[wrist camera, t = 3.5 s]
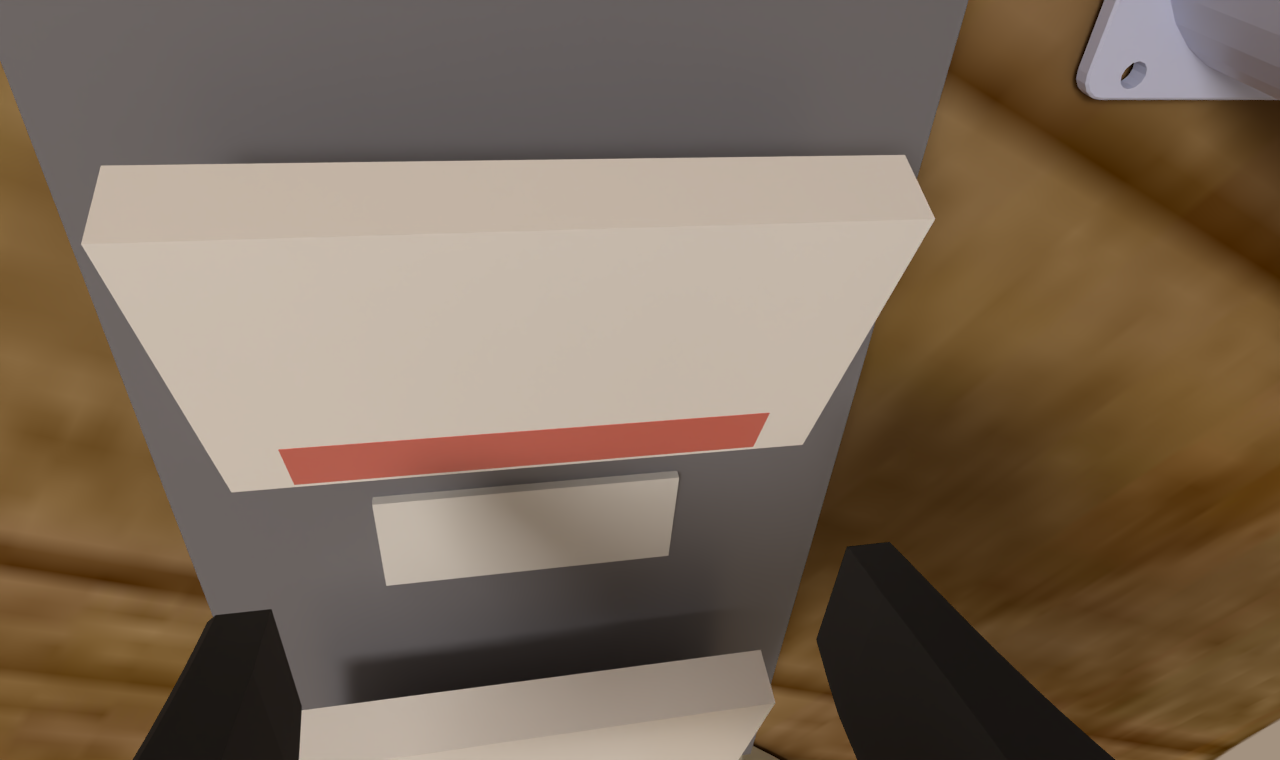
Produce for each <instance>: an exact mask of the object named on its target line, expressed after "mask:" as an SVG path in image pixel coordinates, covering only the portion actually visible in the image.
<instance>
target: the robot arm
mask: <svg viewBox="0 0 1280 760" xmlns="http://www.w3.org/2000/svg"><path fill="white" fill-rule="evenodd" d="M1132 63H1134V65H1133V69H1132V71H1131V72H1130V74H1129V75H1128V76H1127V77H1126V78H1124V79H1123V80H1122V81H1121V77H1122V74H1123V73H1124V71H1125V70H1126V68H1127V67H1129V66H1130V65H1131V64H1132ZM1076 81H1077V86H1078V88H1079V89H1080V90H1081V91H1082V92H1083V93H1084V94H1086V95H1088V96H1089V97H1091V98H1094V99H1098V100H1280V0H1104V3H1103V5H1102V8H1101V10H1100V13H1099V16H1098V18H1097V21H1096V24H1095V26H1094V29H1093V31H1092V34H1091V37H1090V39H1089V42H1088V45H1087V47H1086V50H1085V52H1084V55H1083V58H1082V60H1081V63H1080V65H1079V68H1078V72H1077V77H1076ZM816 640H817V644H818V647H819V651H820V654H821V658H822V661H823V665H824V668H825V672H826V676H827V679H828V682H829V686H830V689H831V692H832V695H833V699H834V702H835V705H836V708H837V712H838V715H839V717H840V719H841V722H842V724H843V727H844V729H845V732H846V734H847V736H848V739H849V741H850V743H851V746H852V748H853V751H854V753H855V755H856V758H857V760H1115V759H1114V758H1113V757H1111V756H1110V755H1109V754H1108V753H1107V752H1106V751H1104V750H1103V749H1102V748H1101V747H1100V746H1099V745H1098V744H1096V743H1095V742H1094V741H1093V740H1092V739H1091V738H1090V737H1089V736H1087V735H1086V734H1085V733H1084V732H1083V731H1082V730H1081V729H1080V728H1078V727H1077V726H1076V725H1075V724H1074V723H1073V722H1072V721H1070V720H1069V719H1068V718H1067V717H1066V716H1065V715H1064V714H1063V713H1062V712H1060V711H1059V710H1058V709H1057V708H1056V707H1055V706H1054V705H1053V704H1052V703H1051V702H1050V701H1049V700H1047V699H1046V698H1045V697H1044V696H1043V695H1042V694H1041V693H1040V692H1039V691H1038V690H1037V689H1036V688H1035V687H1034V686H1033V685H1032V684H1030V683H1029V682H1028V681H1027V680H1026V679H1025V678H1024V677H1023V676H1022V675H1021V674H1020V673H1019V672H1018V671H1017V670H1016V669H1015V668H1014V667H1013V666H1012V665H1011V664H1010V663H1009V662H1008V661H1007V660H1006V659H1005V658H1003V657H1002V656H1001V655H1000V654H999V653H998V652H997V651H996V650H995V649H994V648H993V647H992V646H991V645H990V644H989V643H988V642H987V641H986V640H985V639H984V638H983V637H982V636H981V635H980V634H979V633H978V632H977V631H976V630H975V629H974V628H973V627H972V626H971V625H970V624H969V623H968V622H967V621H966V620H965V619H964V618H963V617H962V616H961V615H960V614H959V613H958V612H957V611H956V610H955V609H954V608H953V607H952V606H951V605H950V604H949V603H948V601H947V600H946V599H945V598H944V597H943V596H942V595H941V594H940V593H939V592H938V591H937V590H936V589H935V588H934V587H933V586H932V585H931V584H930V583H929V582H928V581H927V580H926V579H925V578H924V577H923V576H922V575H921V574H920V573H919V572H918V571H917V570H916V569H915V568H914V567H913V566H912V565H911V563H910V562H909V561H908V560H907V559H906V558H905V557H904V556H903V555H902V554H901V553H900V552H899V551H898V550H897V549H896V548H895V547H894V546H893V545H892V544H891V543H890V542H886V543H876V544H867V545H858V546H849V547H847V548H846V551H845V554H844V557H843V560H842V563H841V566H840V569H839V572H838V575H837V578H836V582H835V585H834V588H833V591H832V594H831V597H830V600H829V603H828V606H827V609H826V612H825V615H824V618H823V621H822V624H821V627H820V630H819V633H818V636H817V639H816ZM301 714H302V705H301V702H300V699H299V695H298V692H297V689H296V686H295V683H294V679H293V676H292V673H291V670H290V667H289V663H288V660H287V657H286V654H285V651H284V647H283V644H282V641H281V638H280V635H279V631H278V628H277V625H276V622H275V619H274V615H273V612H272V609H267V610H258V611H249V612H239V613H230V614H221V615H215V616H214V617H213V618H212V619H211V620H210V621H208V622H207V624H206V626H205V628H204V630H203V632H202V634H201V636H200V638H199V640H198V642H197V644H196V646H195V648H194V650H193V652H192V654H191V656H190V658H189V660H188V662H187V664H186V666H185V668H184V670H183V671H182V673H181V675H180V677H179V679H178V681H177V683H176V685H175V686H174V688H173V690H172V692H171V694H170V696H169V697H168V699H167V701H166V703H165V705H164V706H163V708H162V710H161V712H160V713H159V715H158V717H157V719H156V721H155V722H154V724H153V726H152V728H151V729H150V731H149V733H148V735H147V736H146V738H145V740H144V742H143V743H142V745H141V747H140V748H139V750H138V752H137V753H136V755H135V757H134V758H133V760H299V750H300V732H301Z"/></svg>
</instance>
